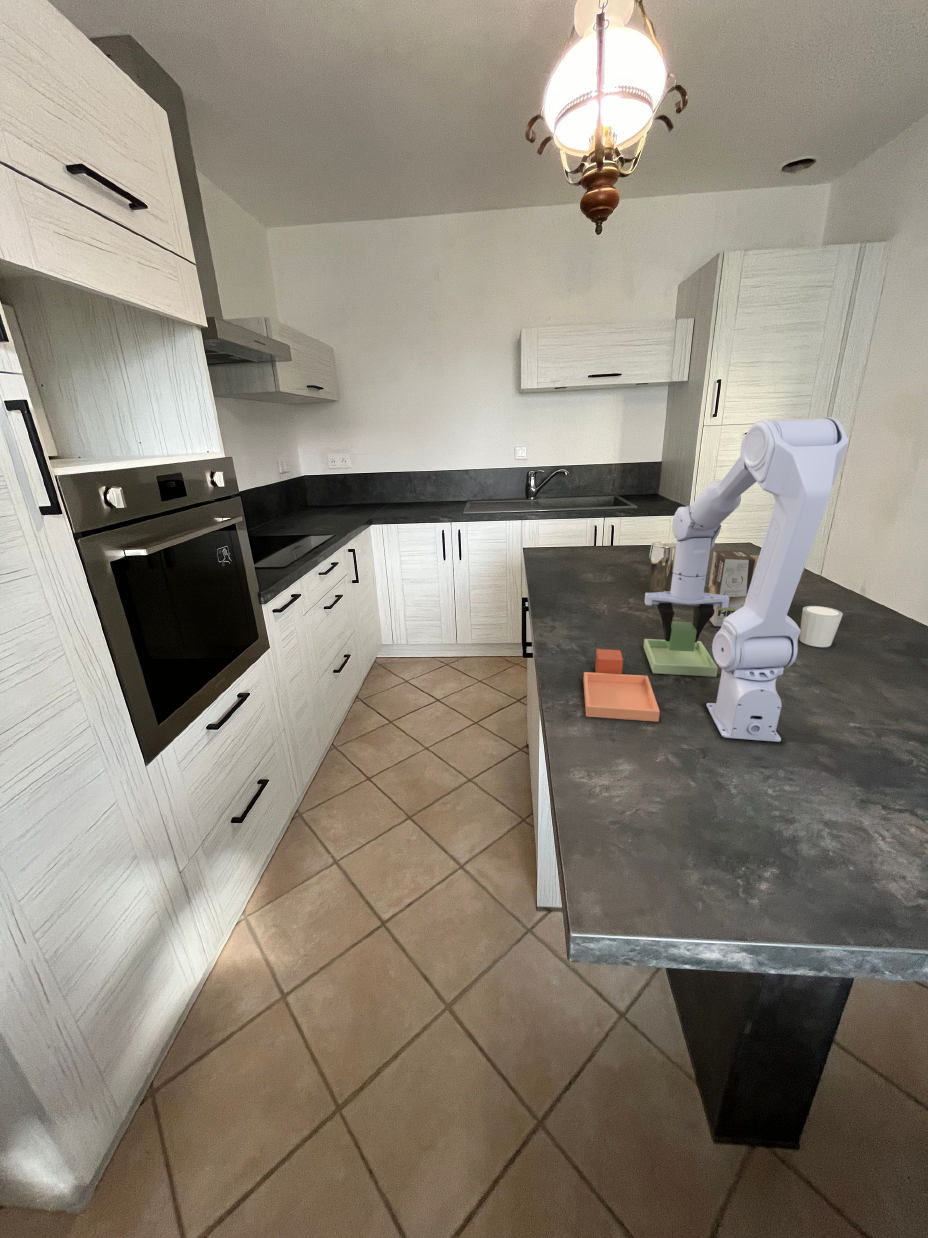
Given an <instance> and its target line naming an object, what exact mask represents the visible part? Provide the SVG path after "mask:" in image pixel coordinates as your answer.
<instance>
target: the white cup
mask: <svg viewBox="0 0 928 1238" xmlns="http://www.w3.org/2000/svg"><path fill="white" fill-rule="evenodd" d="M843 615H844V613H843V612H842V611H840V610H839V609H835V608H833V607H827V606H822V605H807V606H803V607H802V613H801V620H800V627H799V629H800V630H801V632H800V634H799V637H798V641H800V642H801V643H803V644H804V645H807V646H811V647H817V648H829V647H831V646H832V644H833V641H834V639H835V636H836V633H837V631H838V628H839V625H840V623H841V621H842V618H843Z"/></svg>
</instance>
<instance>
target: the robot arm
mask: <svg viewBox="0 0 928 1238" xmlns="http://www.w3.org/2000/svg"><path fill="white" fill-rule="evenodd" d="M849 443H850V440H849V438H848V435H847V433H846V431H845V429H844V427H843V425H842V423H841V421H840V420H839V419H837V418H835V417H833V416H825V417H821V418H805V419H804V418H801V419H799V418H798V419H796V418H795V419H773V420H772V419H771V420H770V419H767V418H766V419H765V418H764V419H759V420H757V421H755V422H754V423H753V424H752V426H750V428H749V429H748V430H747V432H746V434H745V435H744V436H743V437H742V440H741V444H740V456H739V457H738V458H737V459H736V461H735V462H734V463H733V465H732V466H731V468H730V469H729V471H728V472H727V473H726V474H725V476H724V477H723V478H722V480H715V481H711V482H709V484H708V485H707V486H706V487H705V489H704V490H703V491H702V492H701V493H700V494H699V495H698V497H697V498H696V499H695V500H694V501H693V502H692V504H690V505H686V506H680V507H678V508H677V510H676V511H675V513H674V515H673V518H672V533H673V536H674V538H675V539H676V542H675V543H676V551H675V559H674V567H673V575H672V583H671V591H667V592H656V593H648V592H645V593H644V604H645V606H652V605H656V606H657V609H658V612H659V615H660V618H661V619H660V620H661V623H662V628H663V640H665V641H669V640H670V635H671V624H672V621H673V619H674V616H675V611H674V606H693V616H692V617H693V618H692V619H693V620H692V624H693V626H694V627H695V629H696V630H697V632H696V639H695V643H696V642H697V641H699V638H700V635H701V633H702V631H703V630H704V628H705V627H706V625H707V624H708V622H709V621H710V618H711V617H712V616H713V615H714V612H715V610H714V609H713V606H721V607H722V608H728V604H729V597H728V596H727V595H720V594H710V593H708V592H705V586H706V580H707V573H708V566H709V562H710V561H709V560H710V553H711V550H713V549H714V547H715V543H716V539H717V538H718V536H719V535H720V532H721V529H722V522H724V521H725V520H726V519H727V518H728V517H729V516H730V515H731V514H732V513H733V512H734V511H735V510H737V509H738V508H739V506H740V504H741V501H742V494H744V493H745V492H746V491H747V490H749V489H750V488H751V487H752V486H753V485H755V484H756V483H757V484H758V485H759V486H760V488H761V489H762V491H765V492H767V493H768V494H769V493H770V494H771V495H772V496H773V498H774V500H775V503H774V507H773V509H772V513H771V516H770V519H769V523H768V526H767V529H766V533H765V536H764V539H763V542H762V546H761V549H760V552H759V554H758V556H759V558H758V561H757V565H756V568H755V571H754V574H753V578H752V581H751V584H750V587H749V591H748V594H747V597H746V600H745V604H744V606H743V607H742V608H740V609H738V610H737V611H735V612H734V613H732V614H730V615H729V616H727V617H726V618H725V619H724V621H723V624H722V627H721V626H720V629H719V630H718V631H717V632H716V633H715V635H714V637H713V640H712V644H711V648H712V649H711V652H712V656H713V660H714V662H715V664H716V665H717V666H718V668H720V669H721V673H720V674H721V675H720V678H719V684H718V691H717V695H716V696H717V697H716V701H715V702H707V703H706V708H707V710H708V712H709V714H710V716H711V718H712V720H713V722H714V724H715V726H716V728H717V730H718V731H719V734H720V735H721V737H722V738H725V739H736V740H737V739H738V740H749V741H750V740H752V741H760V742H761V741H762V742H777V743H780V742H781V741H782V738H781V736H780V735H779V733H778V731H777V730H778V729H777V728H778V724H779V721H780V715H781V713H782V712H781V711H782V707H783V704H782V700H781V697H780V695H779V694H778V691H777V687H776V686H777V685H776V684H777V679H778V676H783V674H784V670H785V669H788V668H790V667H792V665H794V663H795V661H796V660H797V656H798V652H799V651H798V650H799V646H798V645H799V644H798V642H799V637H800V632H801V630H800V627H799V625H798V623H796V621H794V620H793V619H792V618H791V617H790V616H789V615H788V613H789V610H790V608H791V604H792V602H793V599H794V598H795V594H796V591H797V588H798V586H799V584H800V582H799V580H800V581H801V579H800V577H801V578H802V576H803V573H804V572H803V569H804V566H805V565H806V563H807V561H808V558H809V555H810V552H811V550H812V547H813V544H814V542H815V540H816V539H815V538H816V536H817V534H818V531H819V527H820V525H821V522H822V519H823V517H824V514H825V511H826V508H827V505H828V503H829V500H830V497H831V494H832V489H833V486H834V484H835V482H836V479H837V475H838V473H839V470H840V467H841V464H842V463H843V459H844V458H845V457H844V456H845V454H846V451H847V448H848V445H849ZM805 567H806V566H805ZM804 570H805V569H804ZM802 572H803V573H802ZM801 575H802V576H801ZM798 583H799V584H798Z"/></svg>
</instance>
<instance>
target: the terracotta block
mask: <svg viewBox="0 0 928 1238" xmlns="http://www.w3.org/2000/svg"><path fill="white" fill-rule="evenodd" d="M623 665H624V658H623V655H622V652H621V649H603V648H596V654H595V665H594V667H595V668H594V671H595V673H609V674H623Z"/></svg>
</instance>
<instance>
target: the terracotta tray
mask: <svg viewBox="0 0 928 1238" xmlns="http://www.w3.org/2000/svg"><path fill="white" fill-rule="evenodd" d="M583 694H584V706H585V707H584V709H585V717H589V718H600V719H601V718H602V719H616V720H629V721H630V720H631V721H642V722H643V721H644V722H654V723H655V722H659V721H660V708H659V705H658V702H657V700H656V696H655V693H654V690H653V687H652V684H651V680H650V679H649V675H644V674H643V675H642V674H627V673H625V674H623V673H622V674H609V673H596V672H592V671H591V672H590V671H589V672H588V671H584V672H583Z"/></svg>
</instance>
